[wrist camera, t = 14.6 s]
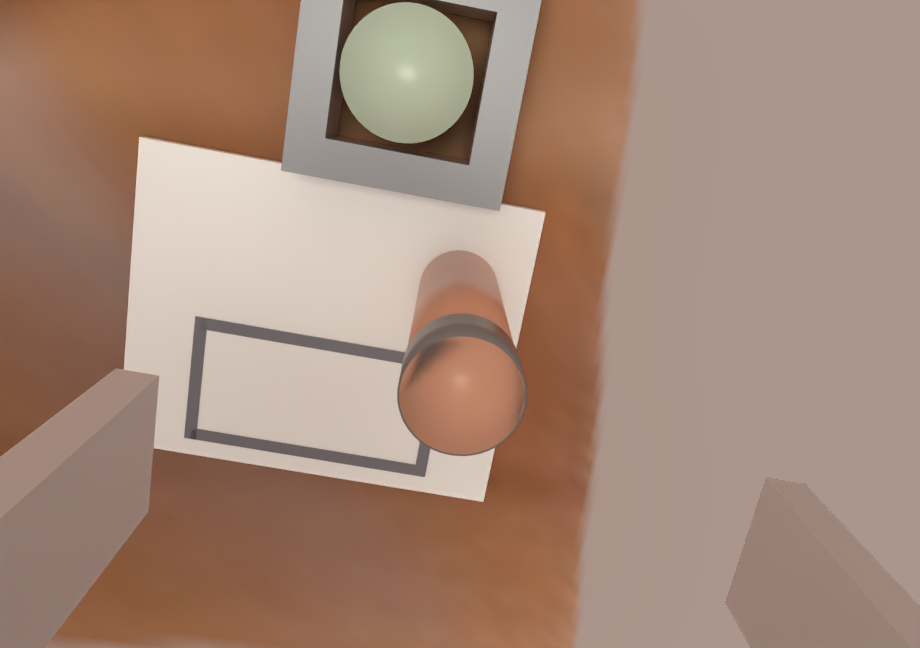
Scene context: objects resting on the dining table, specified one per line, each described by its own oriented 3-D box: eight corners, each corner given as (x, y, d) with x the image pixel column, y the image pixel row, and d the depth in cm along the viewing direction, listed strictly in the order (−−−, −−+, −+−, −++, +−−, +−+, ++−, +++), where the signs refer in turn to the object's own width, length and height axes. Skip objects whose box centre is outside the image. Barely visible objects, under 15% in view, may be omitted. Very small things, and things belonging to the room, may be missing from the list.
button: (343, 128, 28) (330, 130, 25) (361, 2, 27) (349, -11, 24) (459, 150, 28) (460, 154, 25) (482, 26, 27) (485, 16, 24)
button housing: (297, 164, 30) (281, 170, 27) (324, -54, 28) (309, -73, 25) (495, 201, 30) (499, 211, 27) (536, -11, 28) (546, -24, 25)
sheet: (124, 436, 33) (118, 442, 32) (145, 136, 29) (138, 136, 29) (482, 495, 34) (483, 502, 33) (543, 210, 30) (545, 212, 30)
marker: (410, 318, 31) (385, 442, 19) (427, 241, 30) (411, 321, 18) (488, 335, 31) (509, 467, 20) (507, 258, 30) (541, 350, 19)
